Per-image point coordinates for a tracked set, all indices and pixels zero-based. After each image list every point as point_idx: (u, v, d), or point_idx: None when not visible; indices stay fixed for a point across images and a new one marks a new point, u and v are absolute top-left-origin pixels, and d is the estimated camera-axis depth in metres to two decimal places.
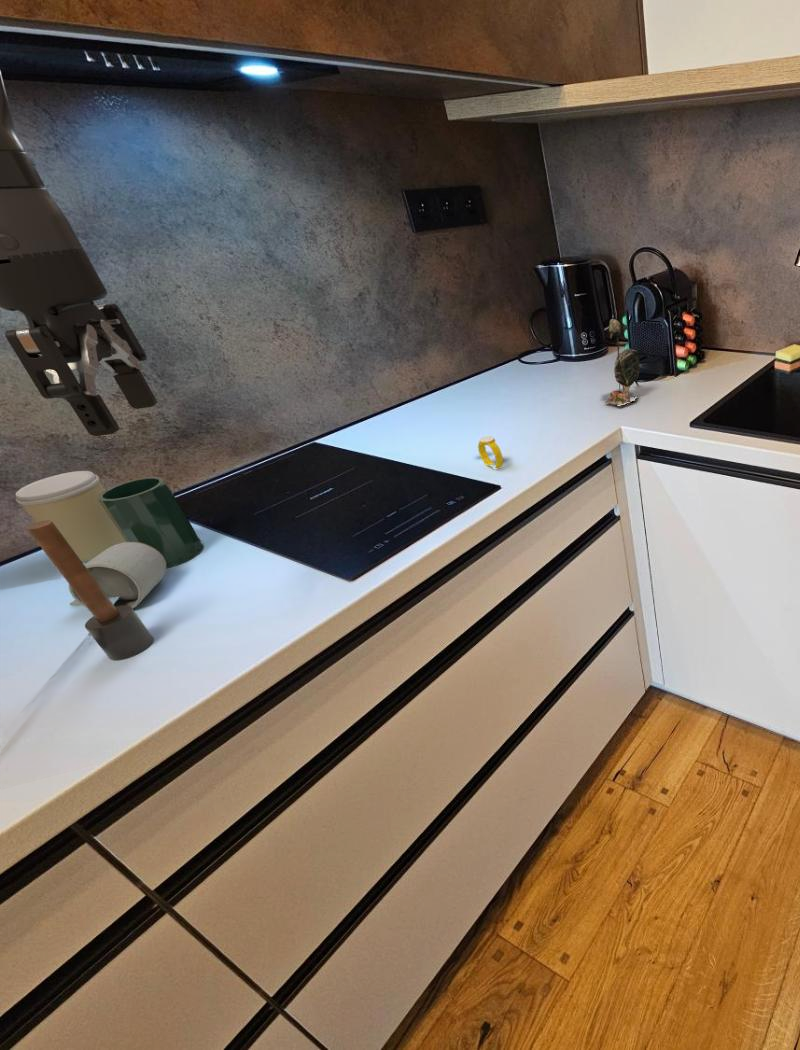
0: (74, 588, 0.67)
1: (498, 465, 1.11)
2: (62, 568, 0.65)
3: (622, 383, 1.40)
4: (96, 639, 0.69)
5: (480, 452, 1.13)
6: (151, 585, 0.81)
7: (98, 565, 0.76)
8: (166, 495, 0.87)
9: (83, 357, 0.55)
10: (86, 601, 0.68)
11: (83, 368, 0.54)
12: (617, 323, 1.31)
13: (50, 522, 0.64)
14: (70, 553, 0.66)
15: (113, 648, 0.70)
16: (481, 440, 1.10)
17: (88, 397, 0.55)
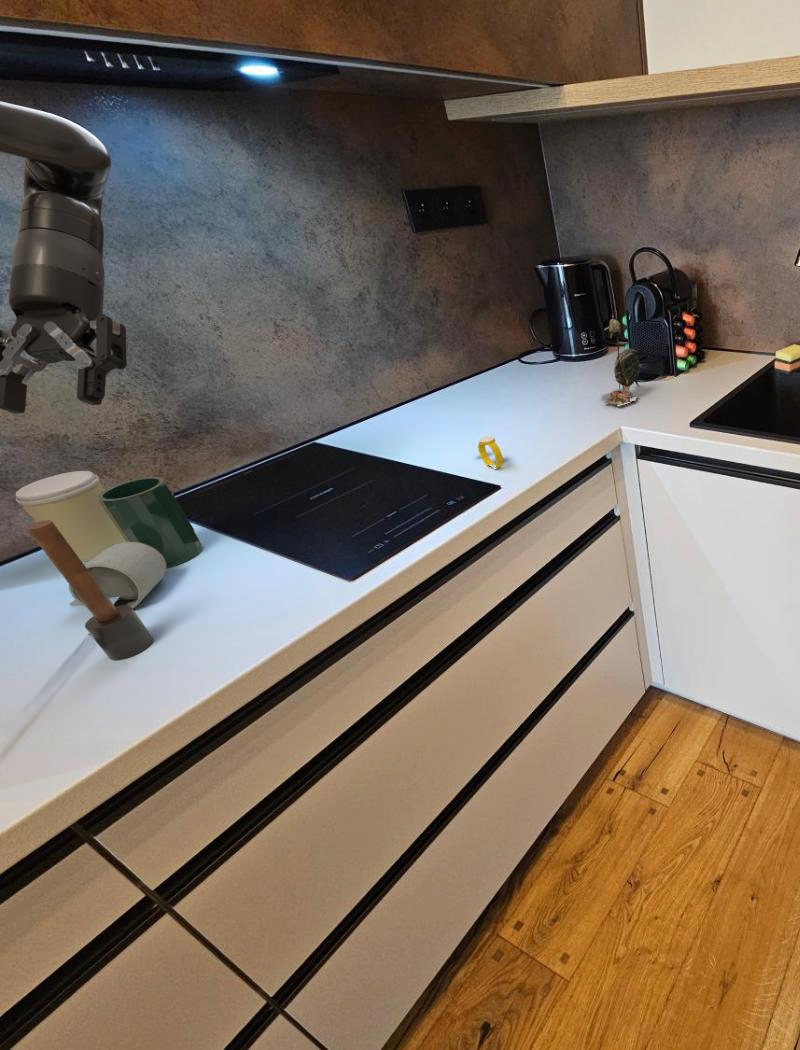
0: (74, 588, 0.67)
1: (498, 465, 1.11)
2: (62, 568, 0.65)
3: (622, 383, 1.40)
4: (96, 639, 0.69)
5: (480, 452, 1.13)
6: (151, 585, 0.81)
7: (98, 565, 0.76)
8: (166, 495, 0.87)
9: None
10: (86, 601, 0.68)
11: None
12: (617, 323, 1.31)
13: (50, 522, 0.64)
14: (70, 553, 0.66)
15: (113, 648, 0.70)
16: (481, 440, 1.10)
17: None
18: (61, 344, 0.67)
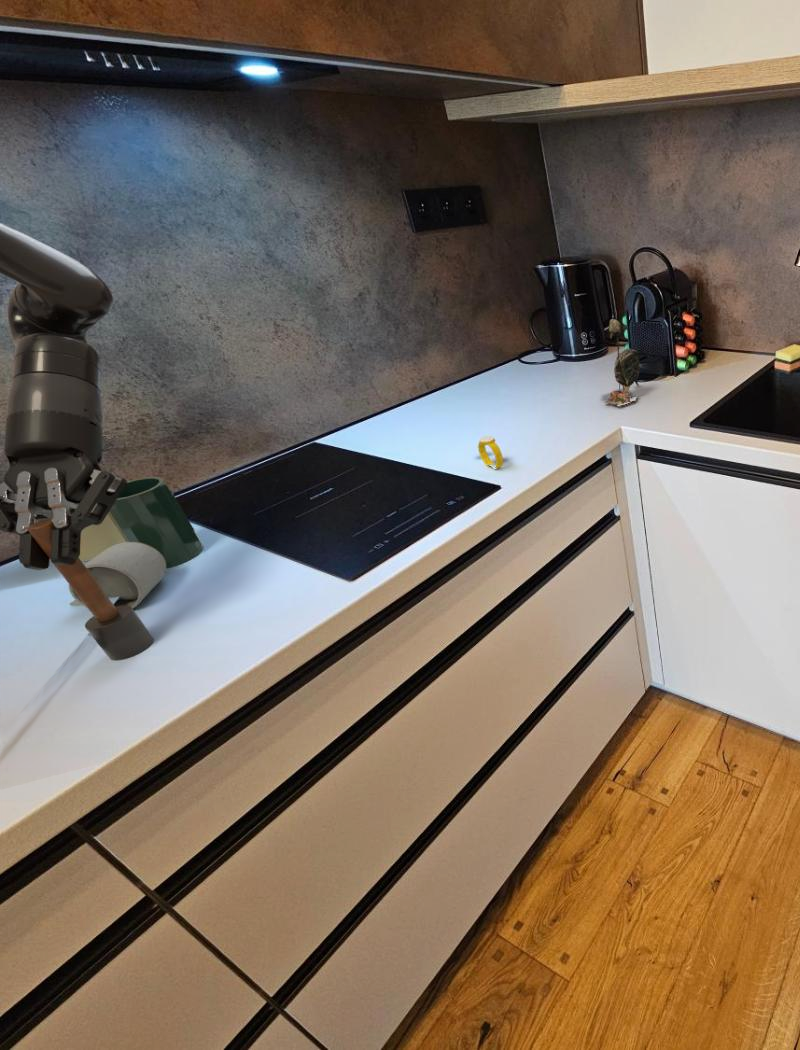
0: (74, 588, 0.67)
1: (498, 465, 1.11)
2: (62, 568, 0.65)
3: (622, 383, 1.40)
4: (96, 639, 0.69)
5: (480, 452, 1.13)
6: (151, 585, 0.81)
7: (98, 565, 0.76)
8: (166, 495, 0.87)
9: None
10: (86, 601, 0.68)
11: None
12: (617, 323, 1.31)
13: (50, 522, 0.64)
14: None
15: (113, 648, 0.70)
16: (481, 440, 1.10)
17: None
18: (49, 495, 0.64)
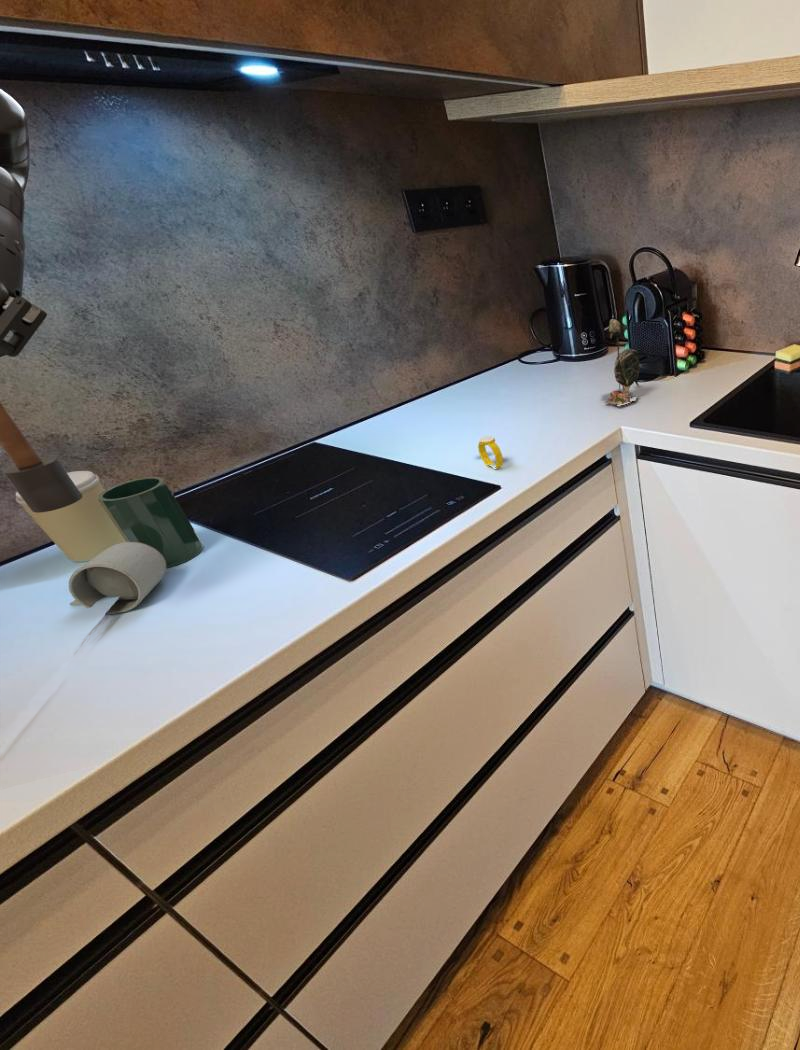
0: None
1: (498, 465, 1.11)
2: None
3: (622, 383, 1.40)
4: (15, 486, 0.65)
5: (480, 452, 1.13)
6: (151, 585, 0.81)
7: (98, 565, 0.76)
8: (166, 495, 0.87)
9: None
10: (2, 442, 0.63)
11: None
12: (617, 323, 1.31)
13: None
14: None
15: (34, 498, 0.65)
16: (481, 440, 1.10)
17: None
18: None
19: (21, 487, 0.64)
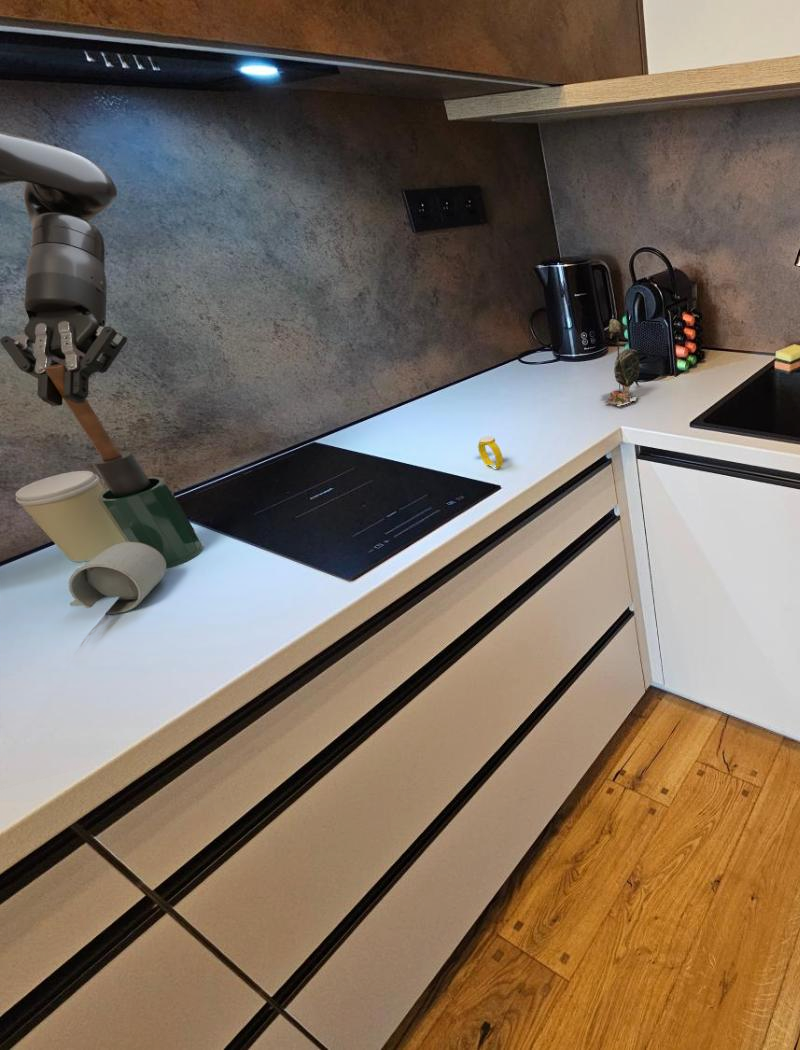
0: (83, 426, 0.79)
1: (498, 465, 1.11)
2: (73, 407, 0.78)
3: (622, 383, 1.40)
4: (101, 474, 0.82)
5: (480, 452, 1.13)
6: (151, 585, 0.81)
7: (98, 565, 0.76)
8: (166, 495, 0.87)
9: None
10: (93, 439, 0.80)
11: None
12: (617, 323, 1.31)
13: (63, 365, 0.76)
14: None
15: (116, 483, 0.83)
16: (481, 440, 1.10)
17: None
18: (62, 343, 0.77)
19: (106, 475, 0.82)
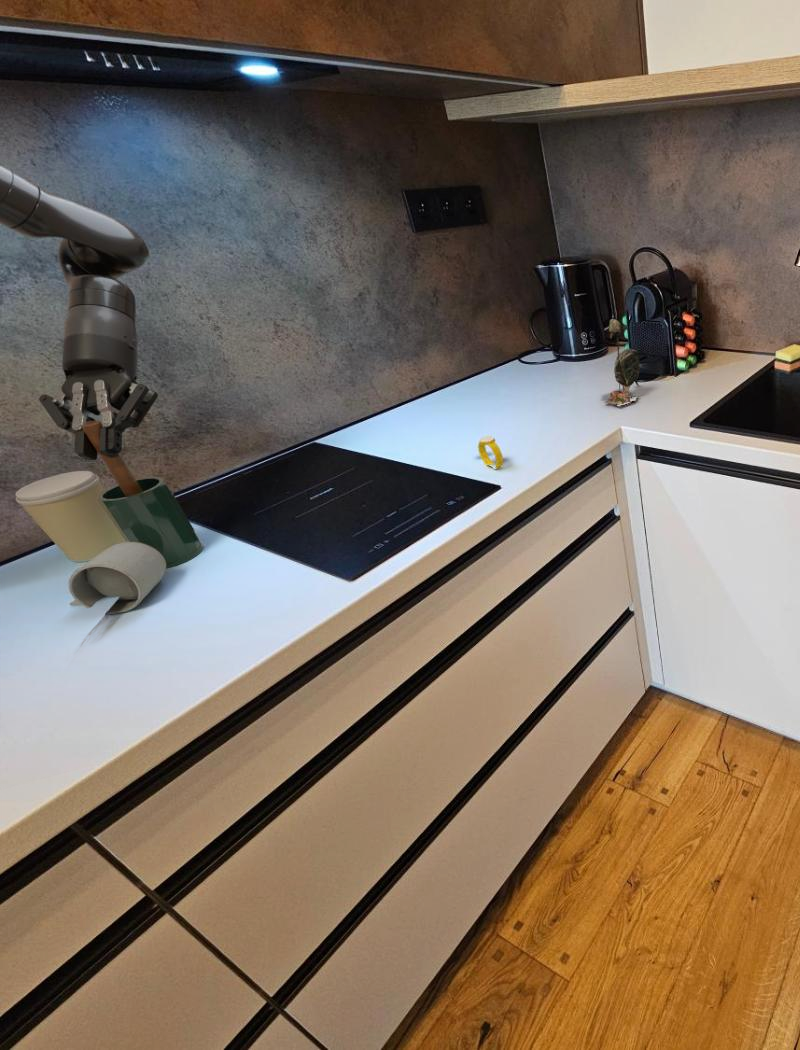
0: (116, 478, 0.84)
1: (498, 465, 1.11)
2: (107, 461, 0.82)
3: (622, 383, 1.40)
4: None
5: (480, 452, 1.13)
6: (151, 585, 0.81)
7: (98, 565, 0.76)
8: (166, 495, 0.87)
9: None
10: (125, 490, 0.84)
11: None
12: (617, 323, 1.31)
13: (98, 422, 0.81)
14: None
15: None
16: (481, 440, 1.10)
17: None
18: (98, 401, 0.81)
19: None
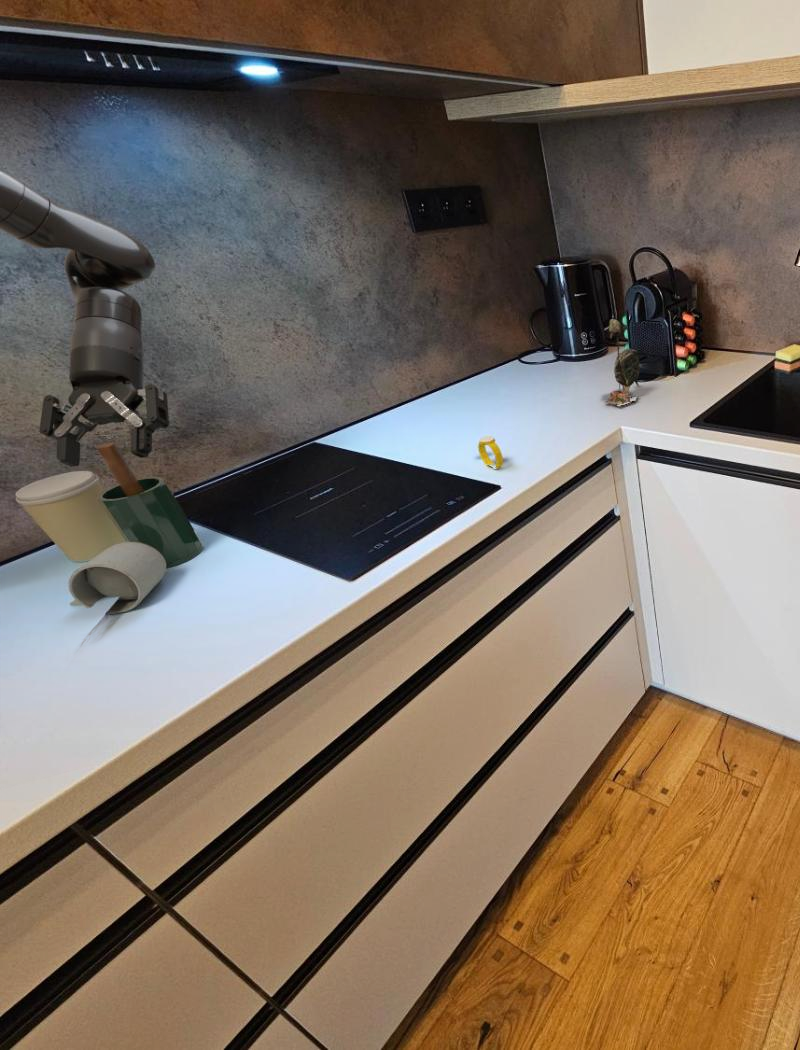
0: None
1: (498, 465, 1.11)
2: (121, 481, 0.84)
3: (622, 383, 1.40)
4: None
5: (480, 452, 1.13)
6: (151, 585, 0.81)
7: (98, 565, 0.76)
8: (166, 495, 0.87)
9: (141, 415, 0.85)
10: None
11: (145, 419, 0.85)
12: (617, 323, 1.31)
13: (113, 443, 0.82)
14: (127, 469, 0.84)
15: None
16: (481, 440, 1.10)
17: (149, 432, 0.84)
18: (116, 409, 0.82)
19: None
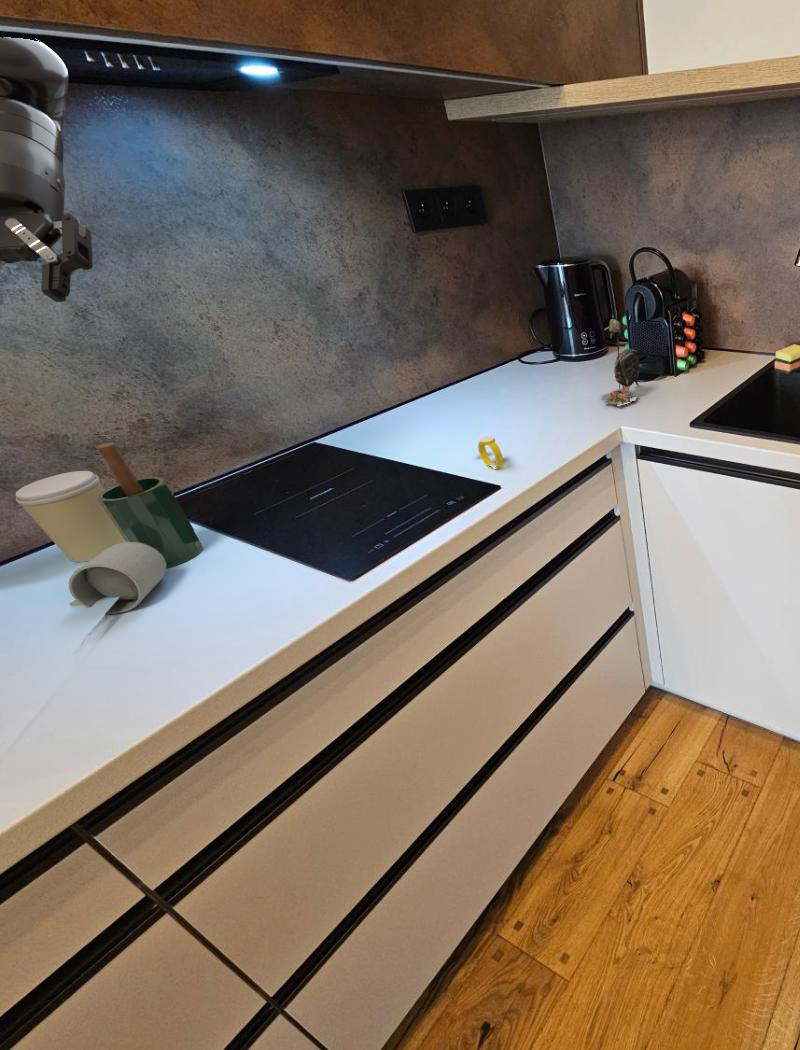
0: None
1: (498, 465, 1.11)
2: (121, 481, 0.84)
3: (622, 383, 1.40)
4: None
5: (480, 452, 1.13)
6: (151, 585, 0.81)
7: (98, 565, 0.76)
8: (166, 495, 0.87)
9: None
10: None
11: None
12: (617, 323, 1.31)
13: (113, 443, 0.82)
14: (127, 469, 0.84)
15: None
16: (481, 440, 1.10)
17: None
18: (24, 240, 0.67)
19: None
